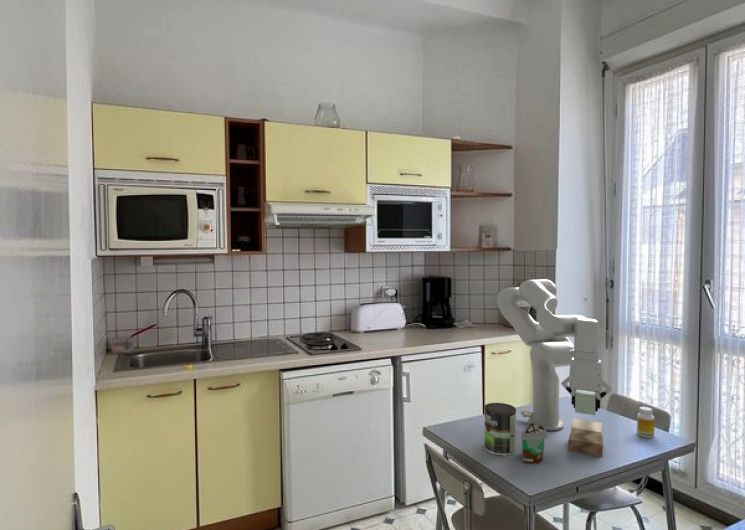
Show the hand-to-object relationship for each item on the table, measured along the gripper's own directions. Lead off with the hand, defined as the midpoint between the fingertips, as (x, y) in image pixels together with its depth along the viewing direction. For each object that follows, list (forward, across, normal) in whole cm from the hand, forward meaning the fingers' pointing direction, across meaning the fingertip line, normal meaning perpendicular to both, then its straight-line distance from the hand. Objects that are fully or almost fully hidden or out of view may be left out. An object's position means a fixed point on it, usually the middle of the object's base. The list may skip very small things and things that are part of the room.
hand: (585, 408), depth 153 cm
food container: (+14, -13, -17) cm, 25 cm away
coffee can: (+14, -25, -15) cm, 32 cm away
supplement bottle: (+14, +18, +22) cm, 32 cm away
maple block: (+10, 0, 0) cm, 10 cm away
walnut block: (+14, 0, 0) cm, 14 cm away
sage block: (+1, 0, 0) cm, 1 cm away
